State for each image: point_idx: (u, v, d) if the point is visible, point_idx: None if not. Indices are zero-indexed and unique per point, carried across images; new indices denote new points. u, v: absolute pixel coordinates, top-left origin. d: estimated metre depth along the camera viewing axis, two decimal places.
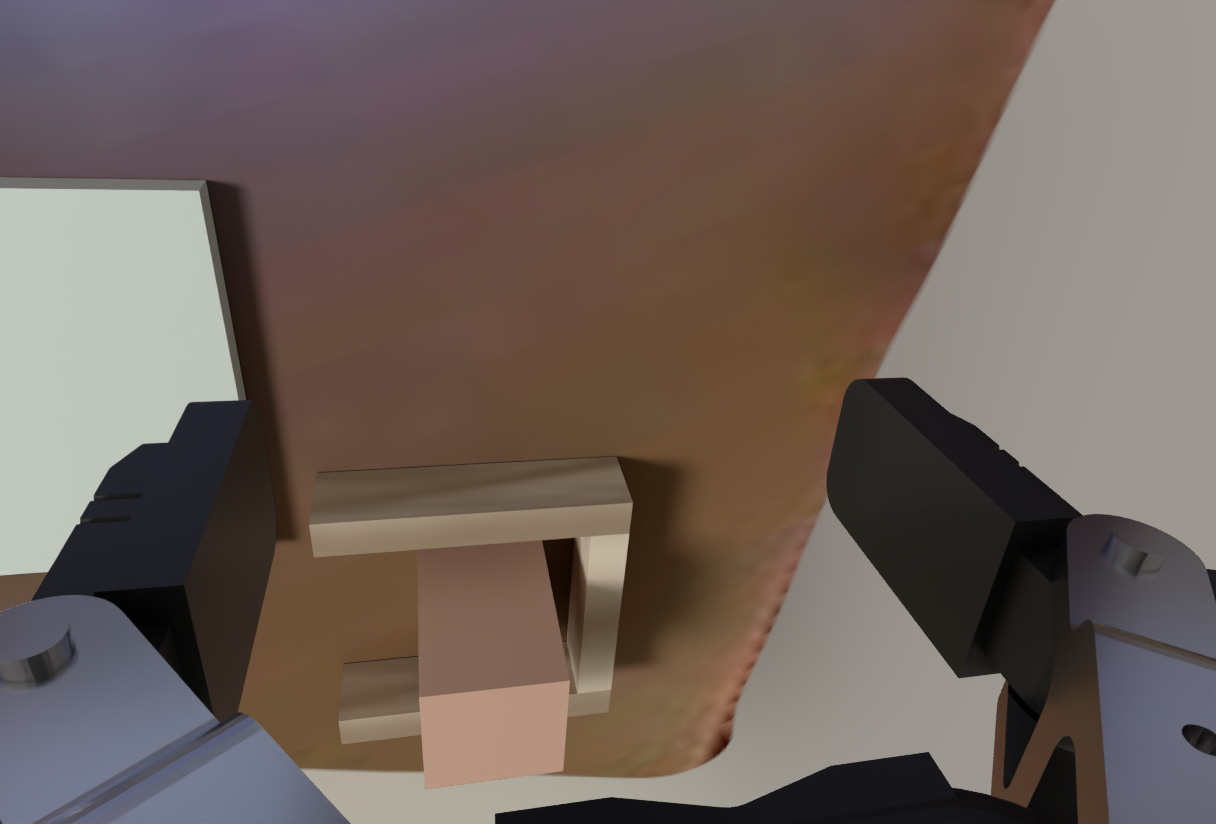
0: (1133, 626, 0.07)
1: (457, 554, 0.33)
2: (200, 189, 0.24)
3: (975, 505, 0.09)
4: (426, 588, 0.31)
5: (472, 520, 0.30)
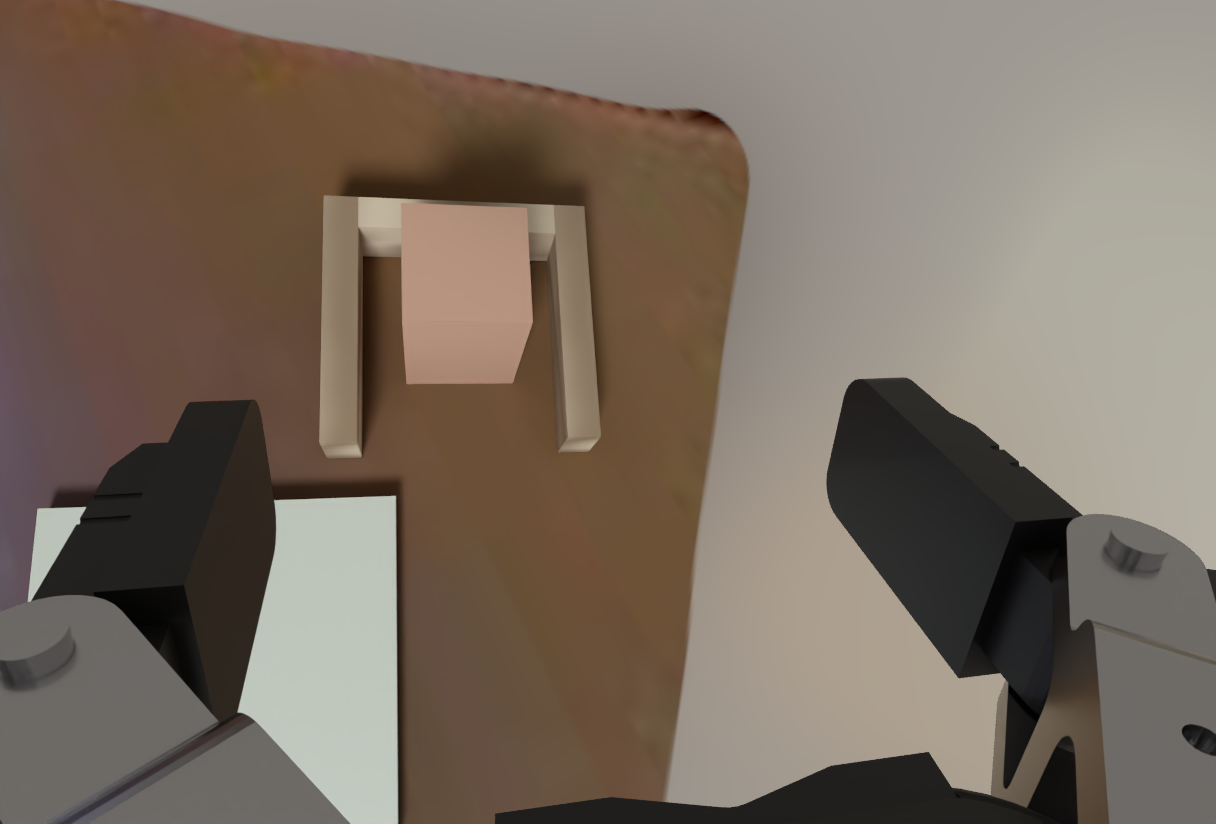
0: (1133, 626, 0.07)
1: None
2: None
3: (975, 505, 0.09)
4: None
5: (329, 318, 0.36)
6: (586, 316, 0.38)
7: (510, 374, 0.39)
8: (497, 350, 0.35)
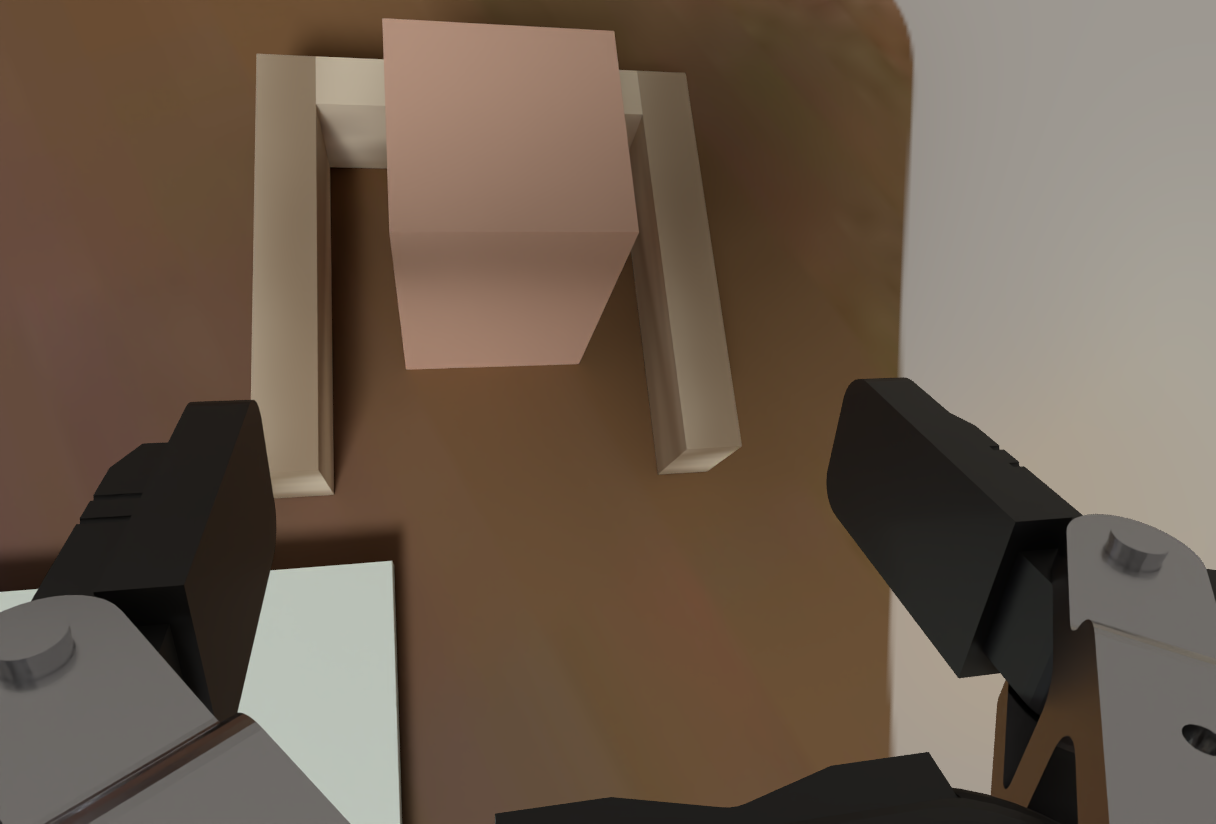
0: (1133, 626, 0.07)
1: None
2: None
3: (975, 505, 0.09)
4: None
5: (267, 254, 0.21)
6: (702, 246, 0.23)
7: (577, 348, 0.23)
8: (564, 298, 0.20)
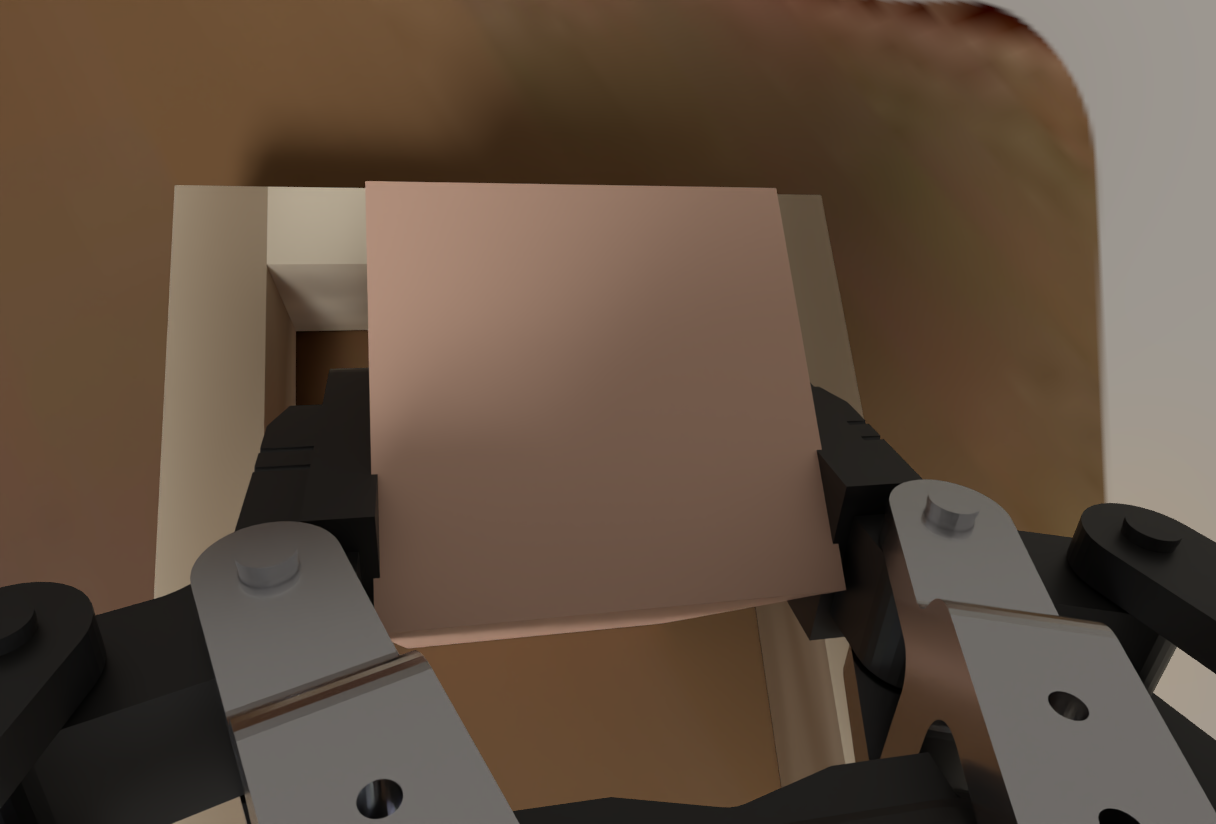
0: (967, 590, 0.07)
1: None
2: None
3: None
4: None
5: (180, 528, 0.13)
6: None
7: (668, 621, 0.15)
8: (671, 615, 0.12)
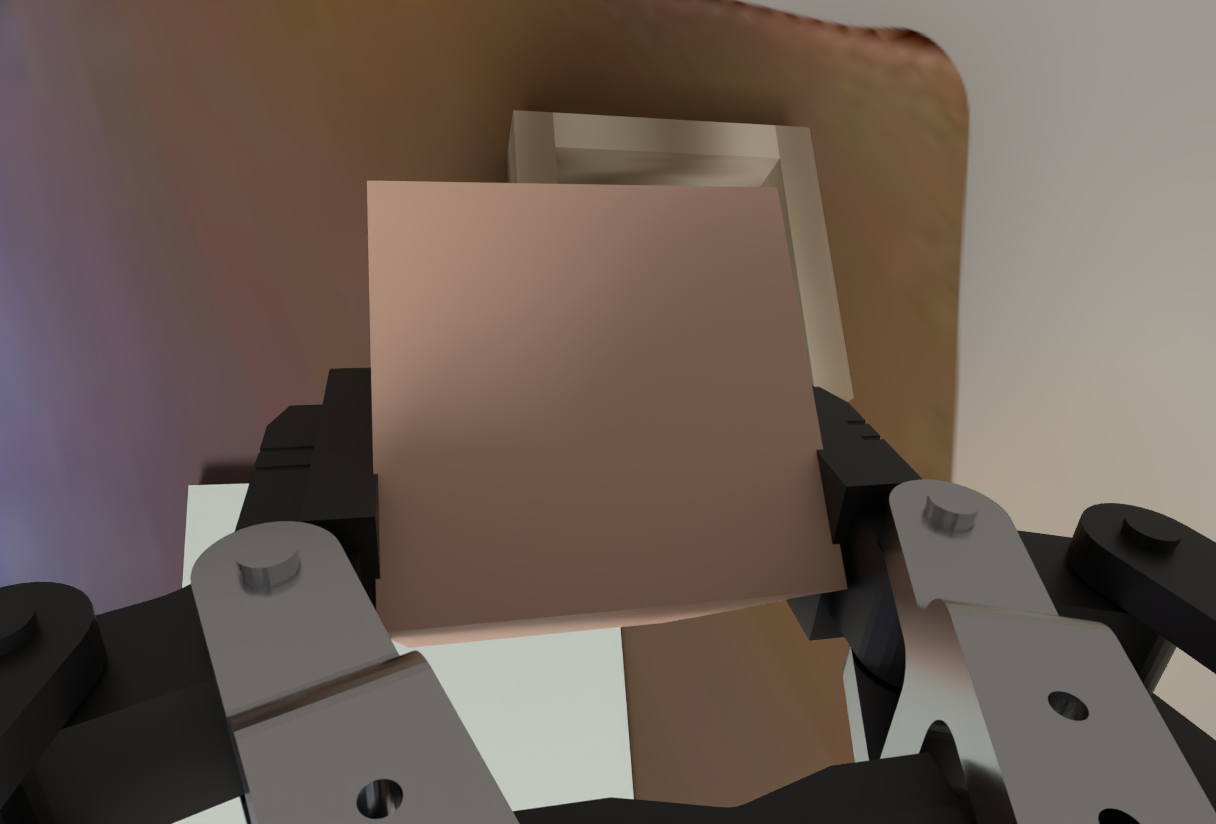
0: (967, 590, 0.07)
1: None
2: None
3: None
4: None
5: None
6: (824, 255, 0.32)
7: (669, 620, 0.15)
8: (672, 614, 0.12)
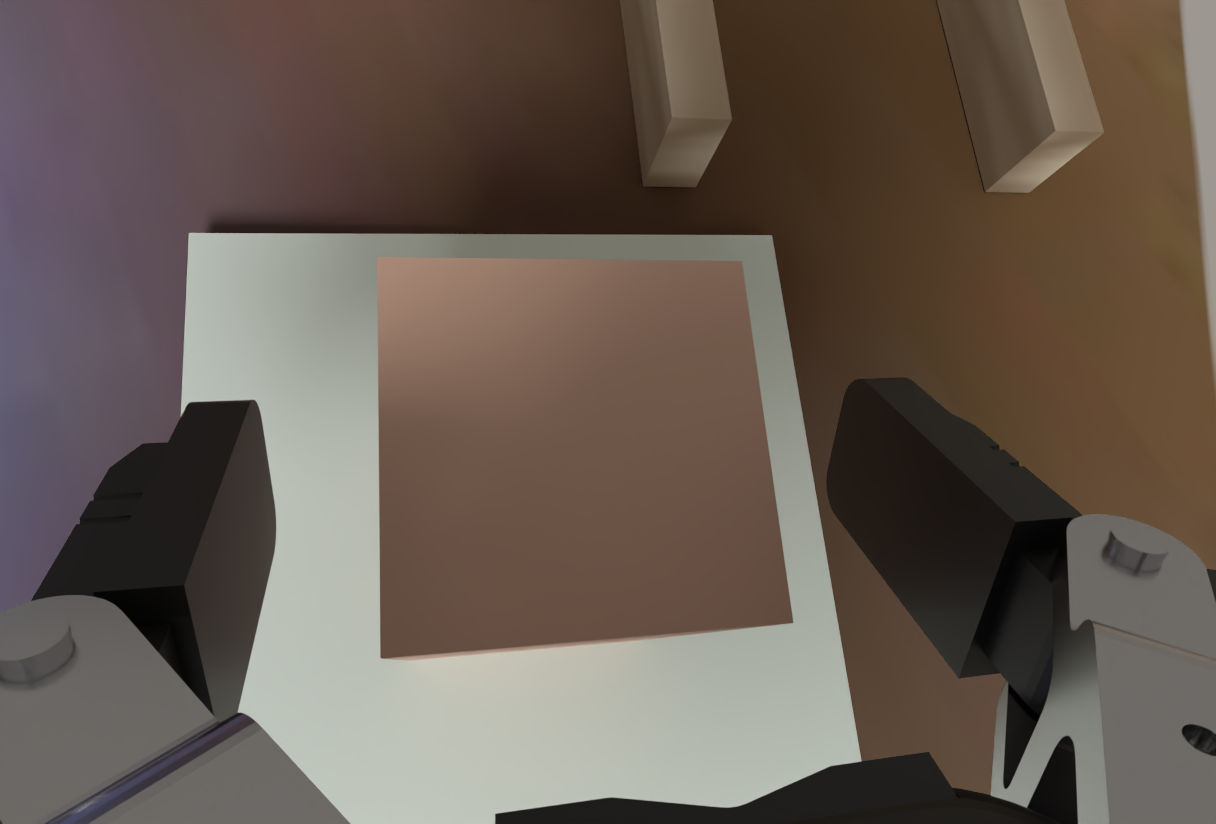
0: (1133, 626, 0.07)
1: None
2: None
3: (974, 505, 0.09)
4: None
5: None
6: None
7: (648, 639, 0.17)
8: None
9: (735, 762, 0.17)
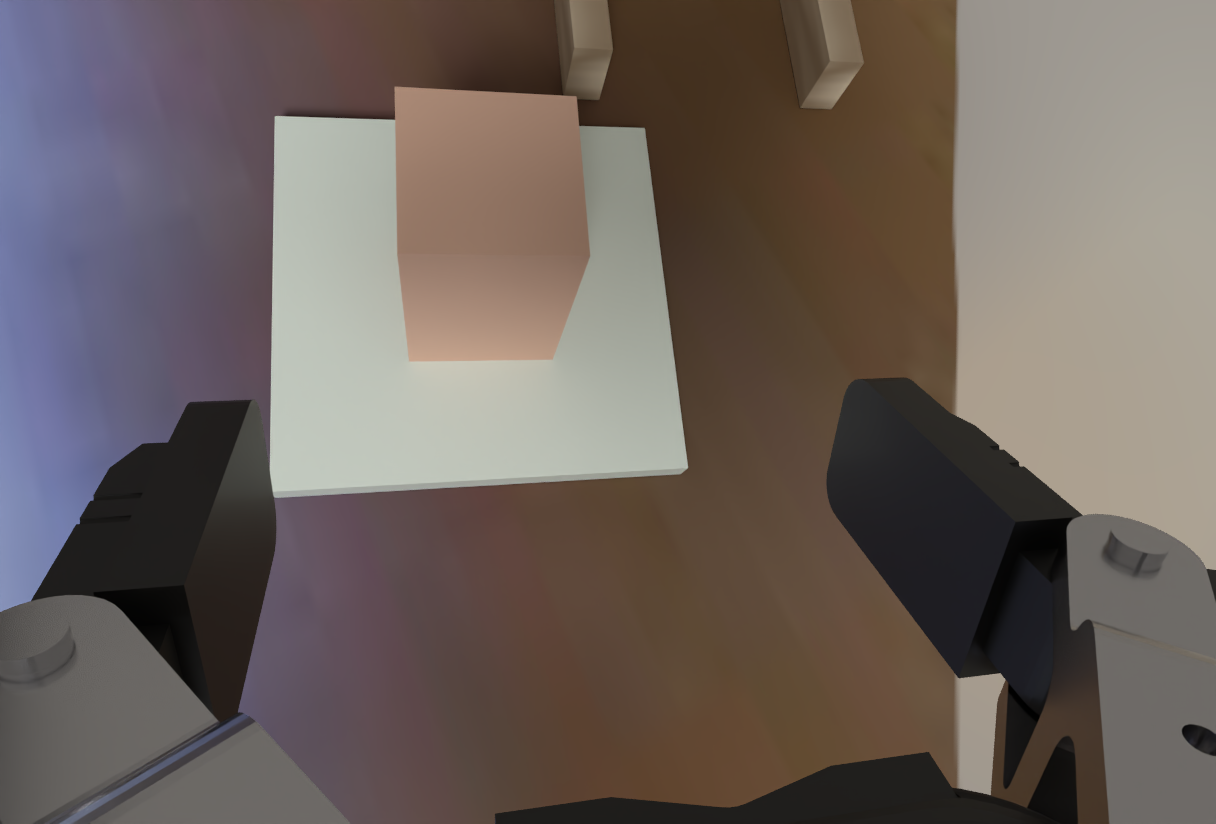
0: (1133, 626, 0.07)
1: None
2: None
3: (975, 505, 0.09)
4: None
5: None
6: None
7: (550, 346, 0.28)
8: (536, 306, 0.25)
9: (605, 429, 0.29)
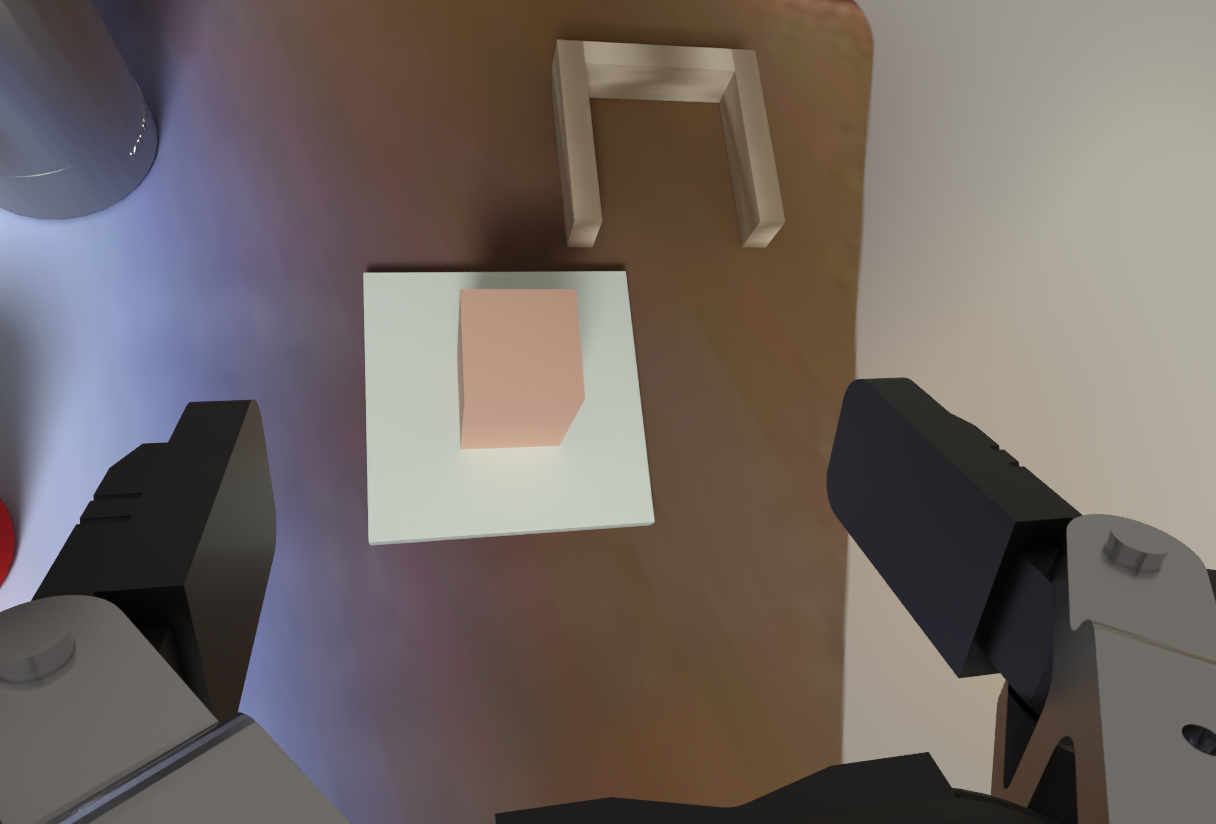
0: (1133, 626, 0.07)
1: None
2: None
3: (974, 506, 0.09)
4: (461, 426, 0.38)
5: (571, 130, 0.45)
6: (765, 132, 0.48)
7: (558, 439, 0.41)
8: (549, 421, 0.37)
9: (596, 495, 0.42)
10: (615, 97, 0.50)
